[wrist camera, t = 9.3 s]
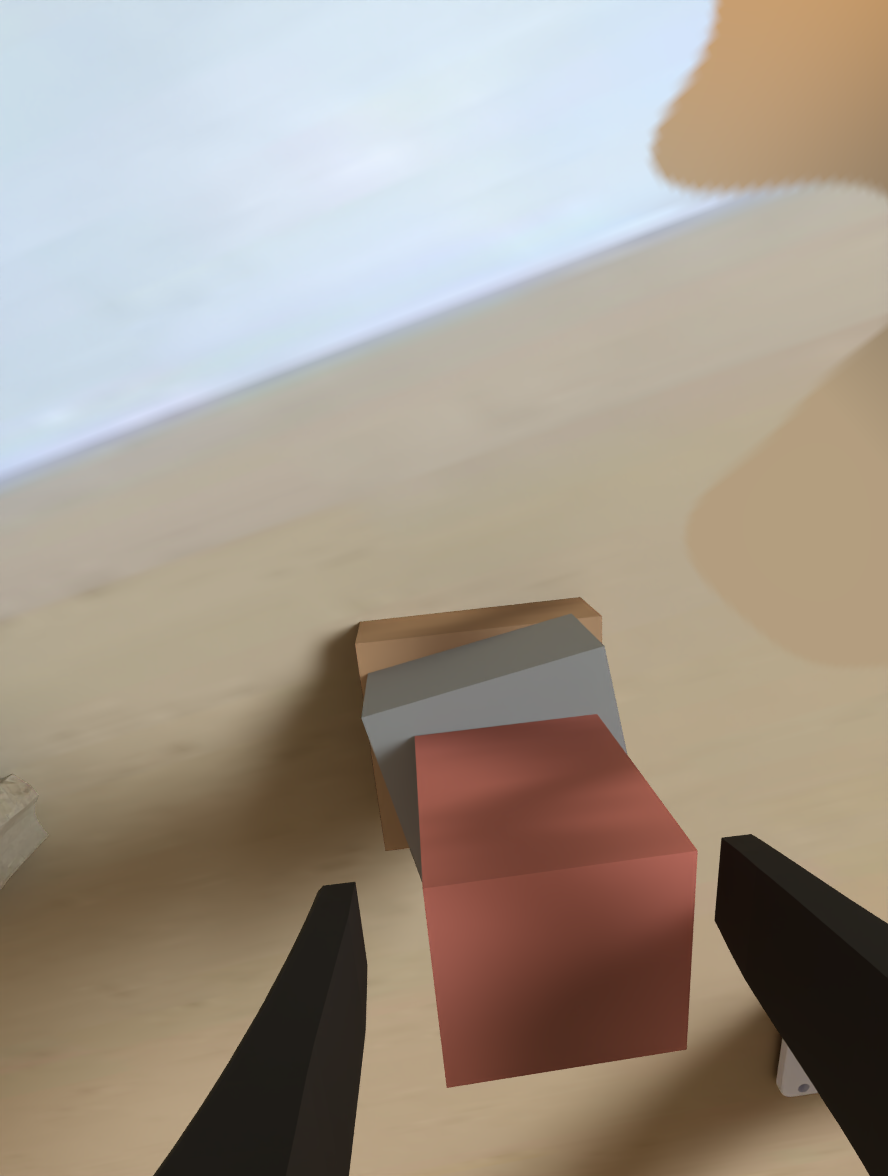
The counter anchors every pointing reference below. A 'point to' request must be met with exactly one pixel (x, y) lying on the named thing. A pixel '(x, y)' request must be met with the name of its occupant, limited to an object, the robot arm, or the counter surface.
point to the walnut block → (442, 632)
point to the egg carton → (17, 825)
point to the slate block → (483, 698)
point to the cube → (551, 900)
